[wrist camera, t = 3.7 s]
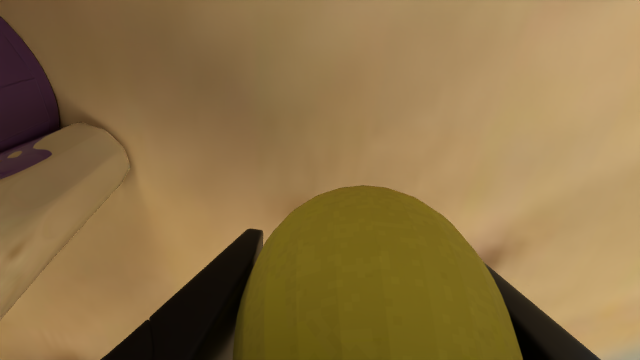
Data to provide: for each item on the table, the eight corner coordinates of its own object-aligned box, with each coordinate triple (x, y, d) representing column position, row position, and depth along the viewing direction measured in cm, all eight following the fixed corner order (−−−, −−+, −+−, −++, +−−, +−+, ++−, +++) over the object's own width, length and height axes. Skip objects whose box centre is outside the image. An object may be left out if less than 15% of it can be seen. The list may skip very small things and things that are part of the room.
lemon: (475, 164, 9) (904, 682, 2) (398, 284, 12) (485, 677, 5) (294, 111, 8) (127, 612, 2) (258, 251, 11) (141, 650, 4)
